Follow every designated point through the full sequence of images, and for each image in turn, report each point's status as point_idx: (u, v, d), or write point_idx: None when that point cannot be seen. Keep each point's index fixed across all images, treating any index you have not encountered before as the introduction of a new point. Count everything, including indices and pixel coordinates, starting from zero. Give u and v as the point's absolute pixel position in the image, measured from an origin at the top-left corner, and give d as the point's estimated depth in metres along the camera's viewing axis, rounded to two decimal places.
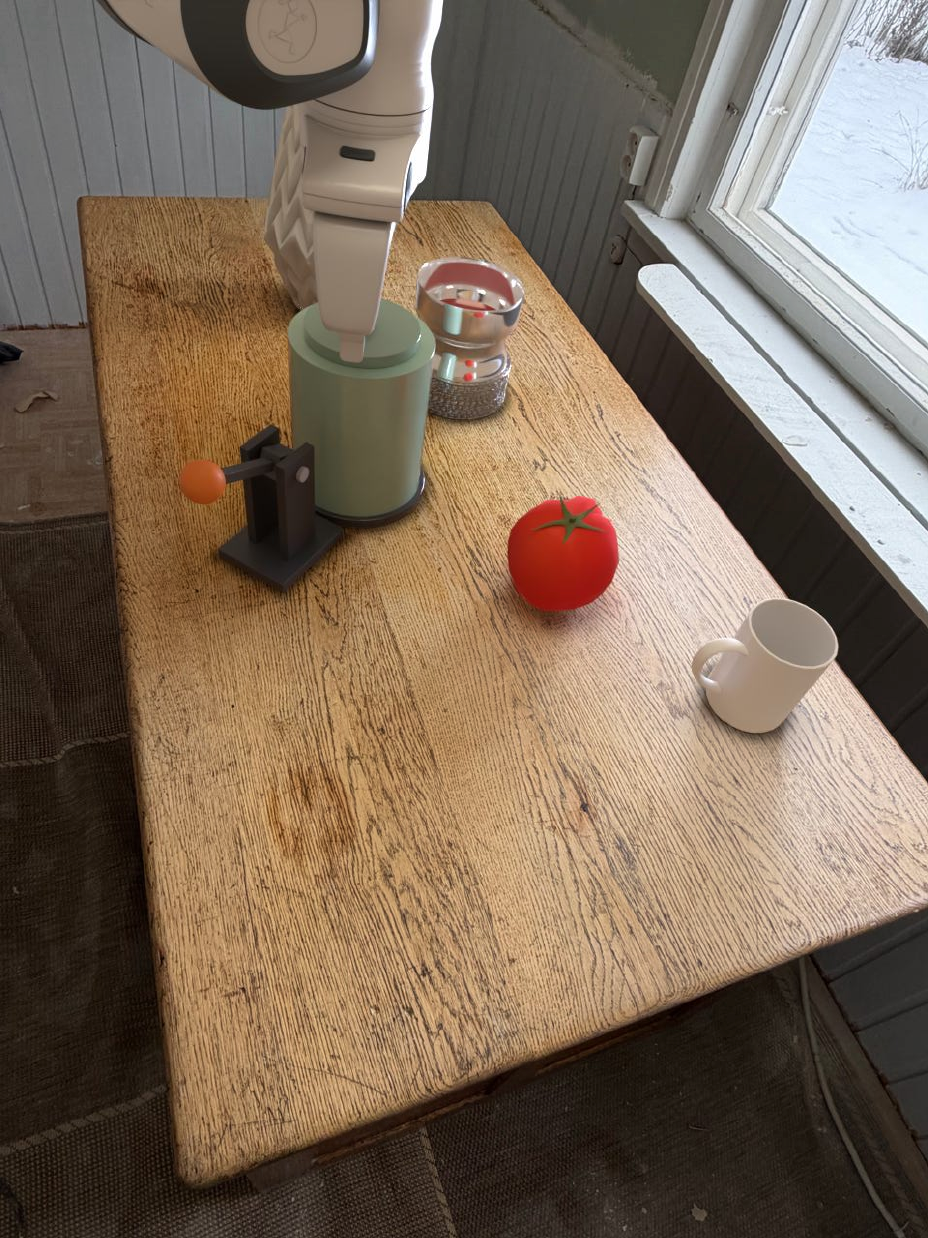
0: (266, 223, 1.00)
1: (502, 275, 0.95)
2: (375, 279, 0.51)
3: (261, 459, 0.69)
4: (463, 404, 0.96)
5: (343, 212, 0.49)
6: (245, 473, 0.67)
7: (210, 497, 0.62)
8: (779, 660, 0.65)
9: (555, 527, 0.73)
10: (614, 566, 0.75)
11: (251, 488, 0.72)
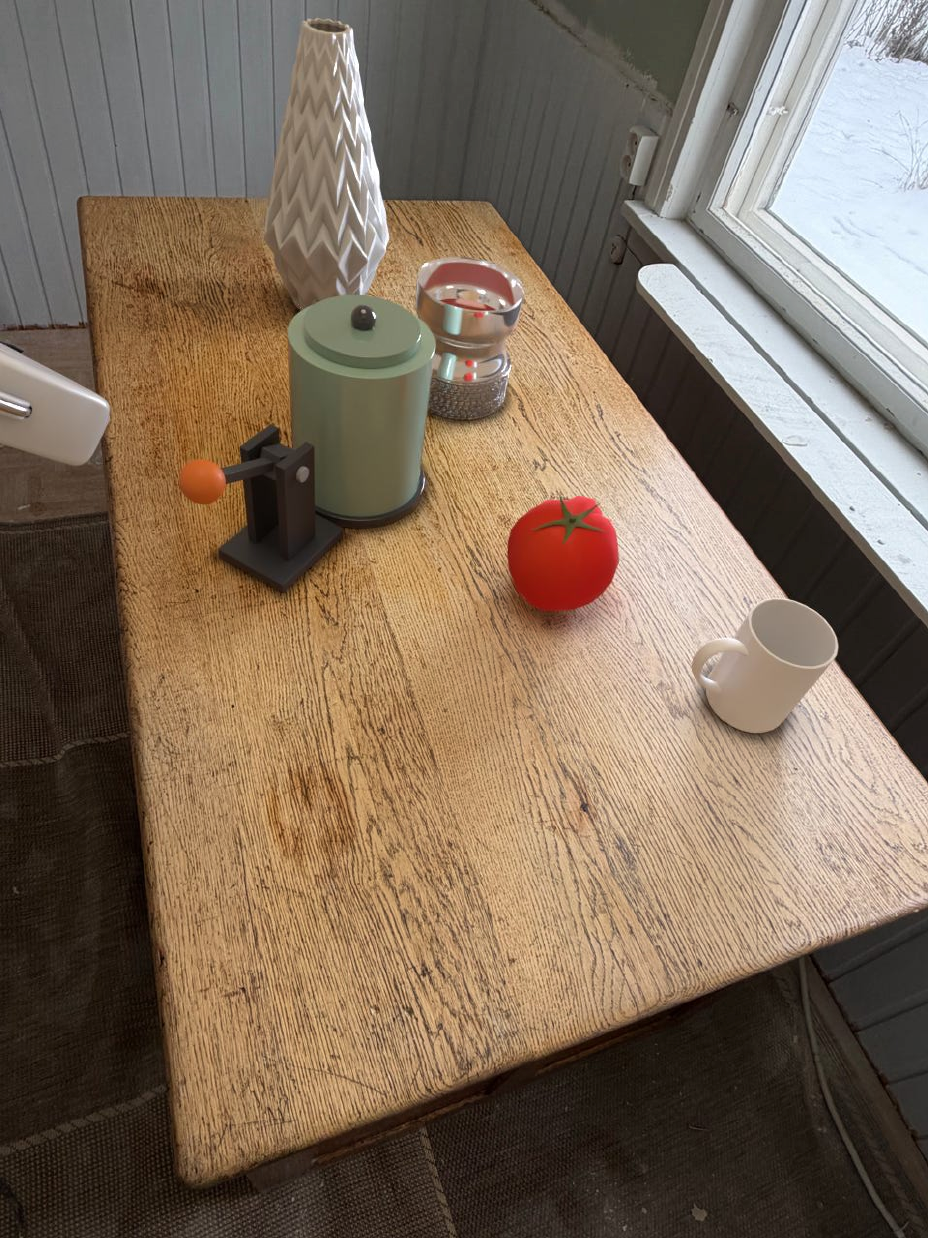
0: (266, 223, 1.00)
1: (502, 275, 0.95)
2: None
3: (261, 459, 0.69)
4: (463, 404, 0.96)
5: None
6: (245, 473, 0.67)
7: (210, 497, 0.62)
8: (779, 660, 0.65)
9: (555, 527, 0.73)
10: (614, 566, 0.75)
11: (251, 488, 0.72)
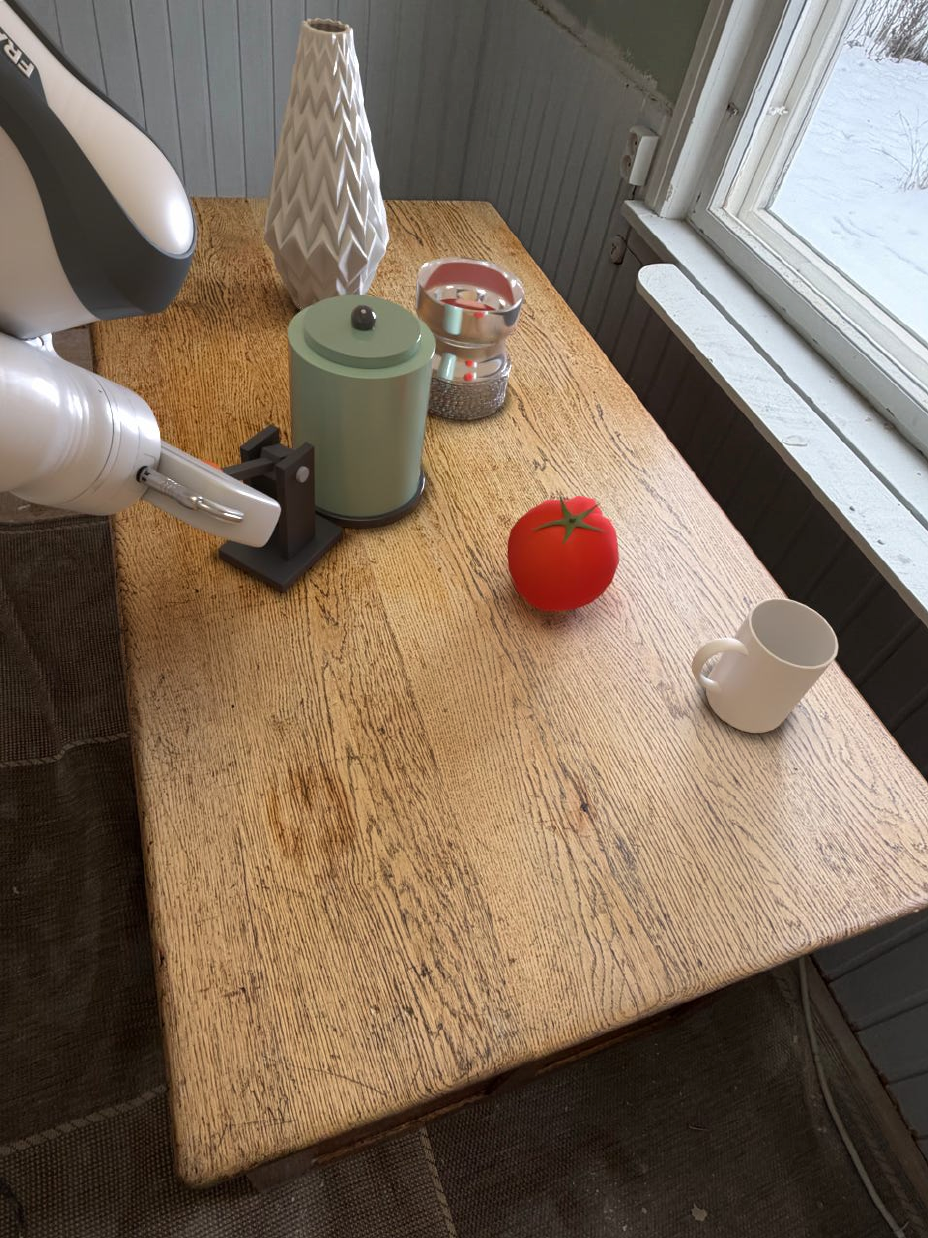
0: (266, 223, 1.00)
1: (502, 275, 0.95)
2: None
3: (261, 459, 0.69)
4: (463, 404, 0.96)
5: None
6: (245, 473, 0.67)
7: None
8: (779, 660, 0.65)
9: (555, 527, 0.73)
10: (614, 566, 0.75)
11: None
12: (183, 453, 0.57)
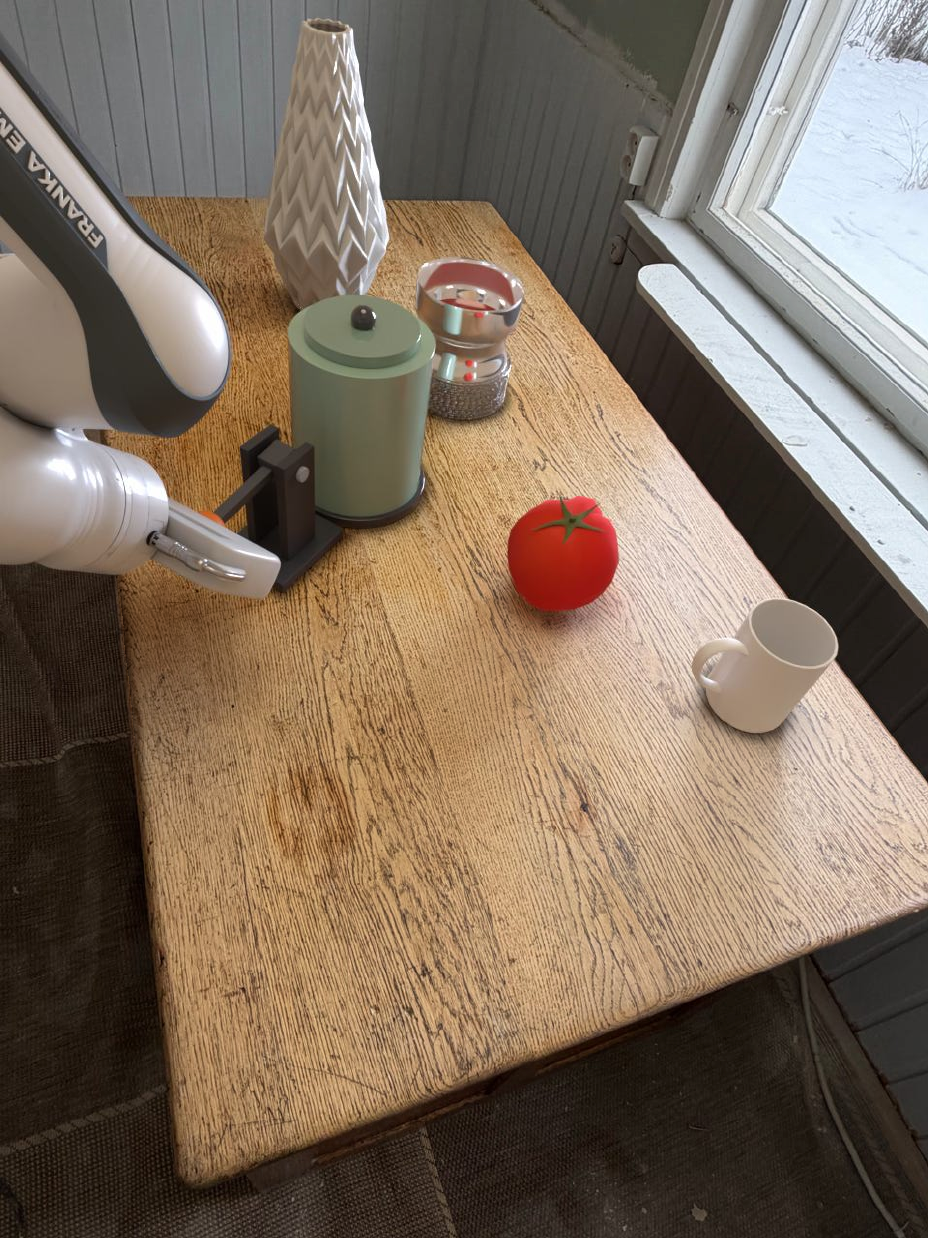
0: (266, 223, 1.00)
1: (502, 275, 0.95)
2: None
3: (259, 471, 0.70)
4: (463, 404, 0.96)
5: None
6: (244, 499, 0.68)
7: None
8: (779, 660, 0.65)
9: (555, 527, 0.73)
10: (614, 566, 0.75)
11: None
12: (189, 511, 0.61)
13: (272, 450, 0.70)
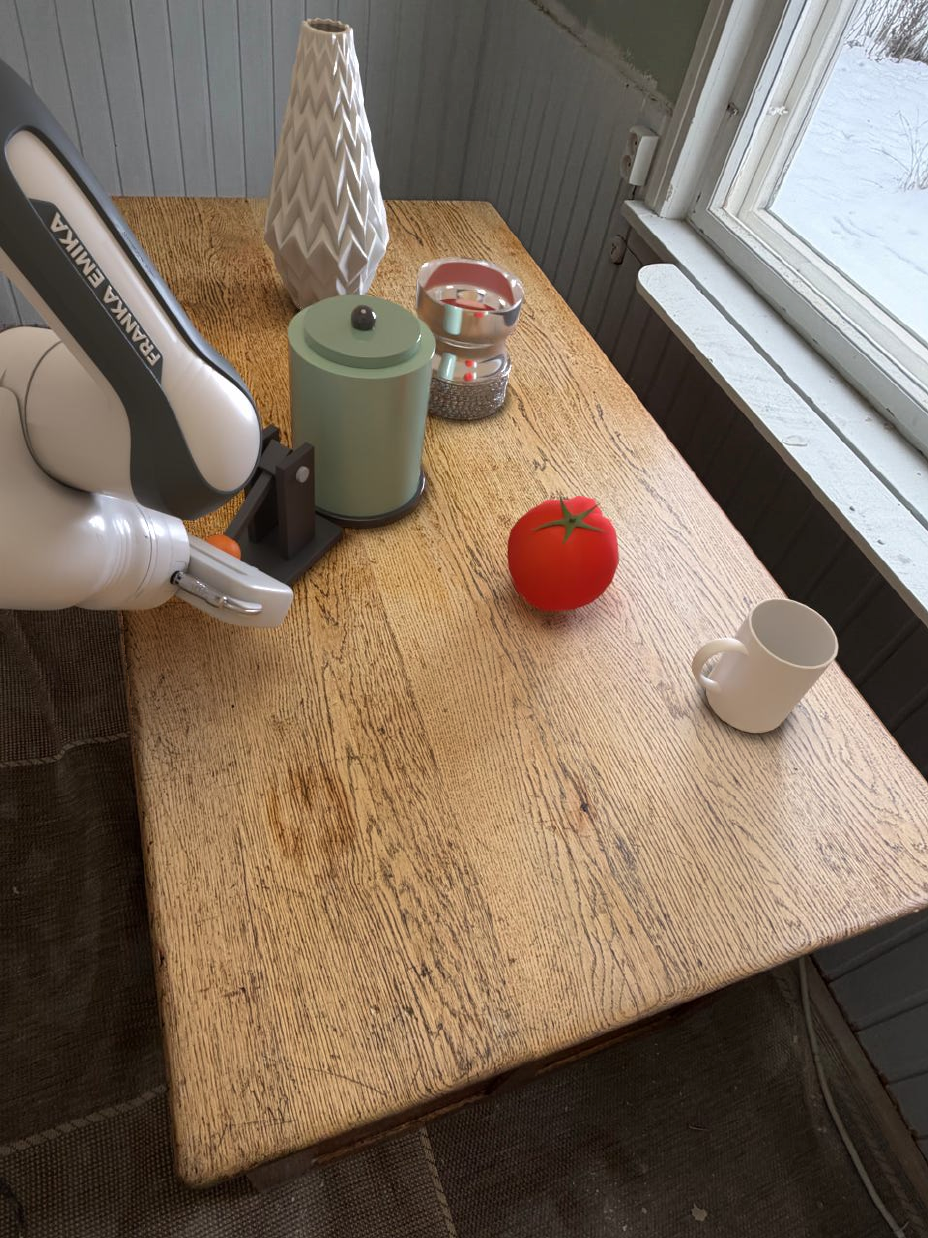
0: (266, 223, 1.00)
1: (502, 275, 0.95)
2: None
3: (260, 478, 0.71)
4: (463, 404, 0.96)
5: None
6: (251, 513, 0.70)
7: None
8: (779, 660, 0.65)
9: (555, 527, 0.73)
10: (614, 566, 0.75)
11: (251, 488, 0.72)
12: (207, 546, 0.65)
13: (269, 454, 0.70)
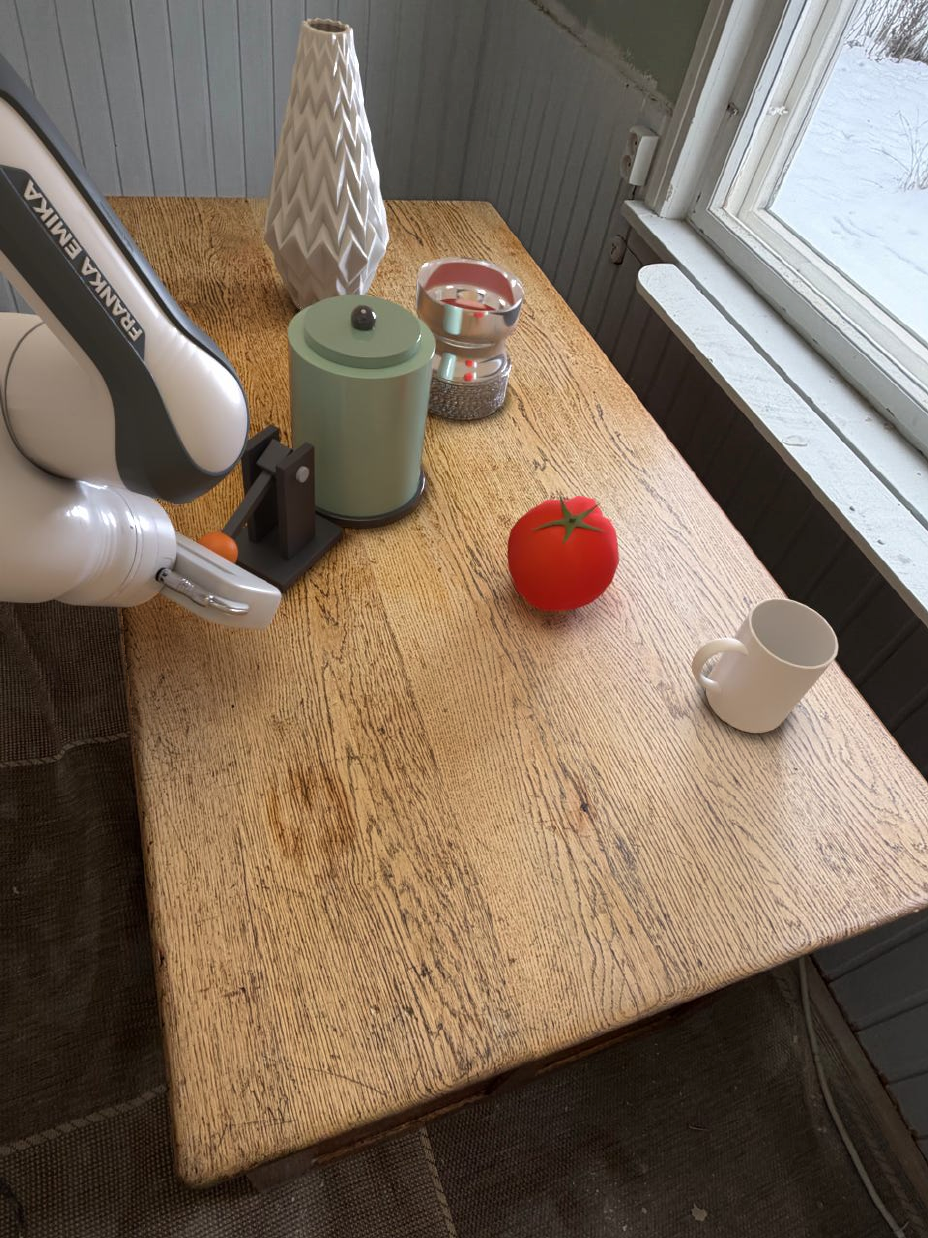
0: (266, 223, 1.00)
1: (502, 275, 0.95)
2: None
3: (260, 477, 0.70)
4: (463, 404, 0.96)
5: None
6: (249, 511, 0.70)
7: None
8: (779, 660, 0.65)
9: (555, 527, 0.73)
10: (614, 566, 0.75)
11: None
12: (194, 545, 0.64)
13: (269, 453, 0.70)
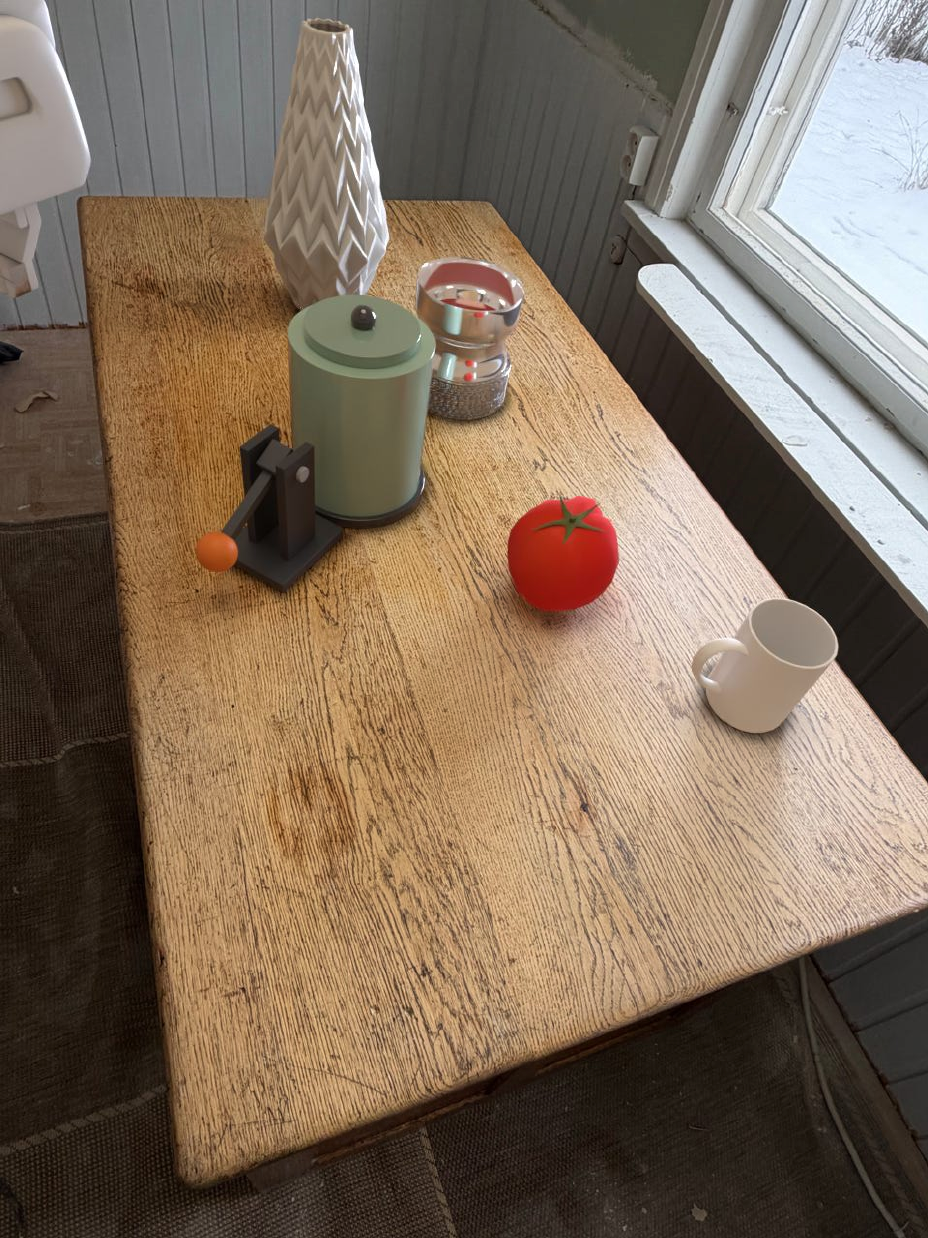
0: (266, 223, 1.00)
1: (502, 275, 0.95)
2: None
3: (260, 477, 0.70)
4: (463, 404, 0.96)
5: None
6: (249, 511, 0.70)
7: (227, 568, 0.69)
8: (779, 660, 0.65)
9: (555, 527, 0.73)
10: (614, 566, 0.75)
11: None
12: None
13: (269, 453, 0.70)
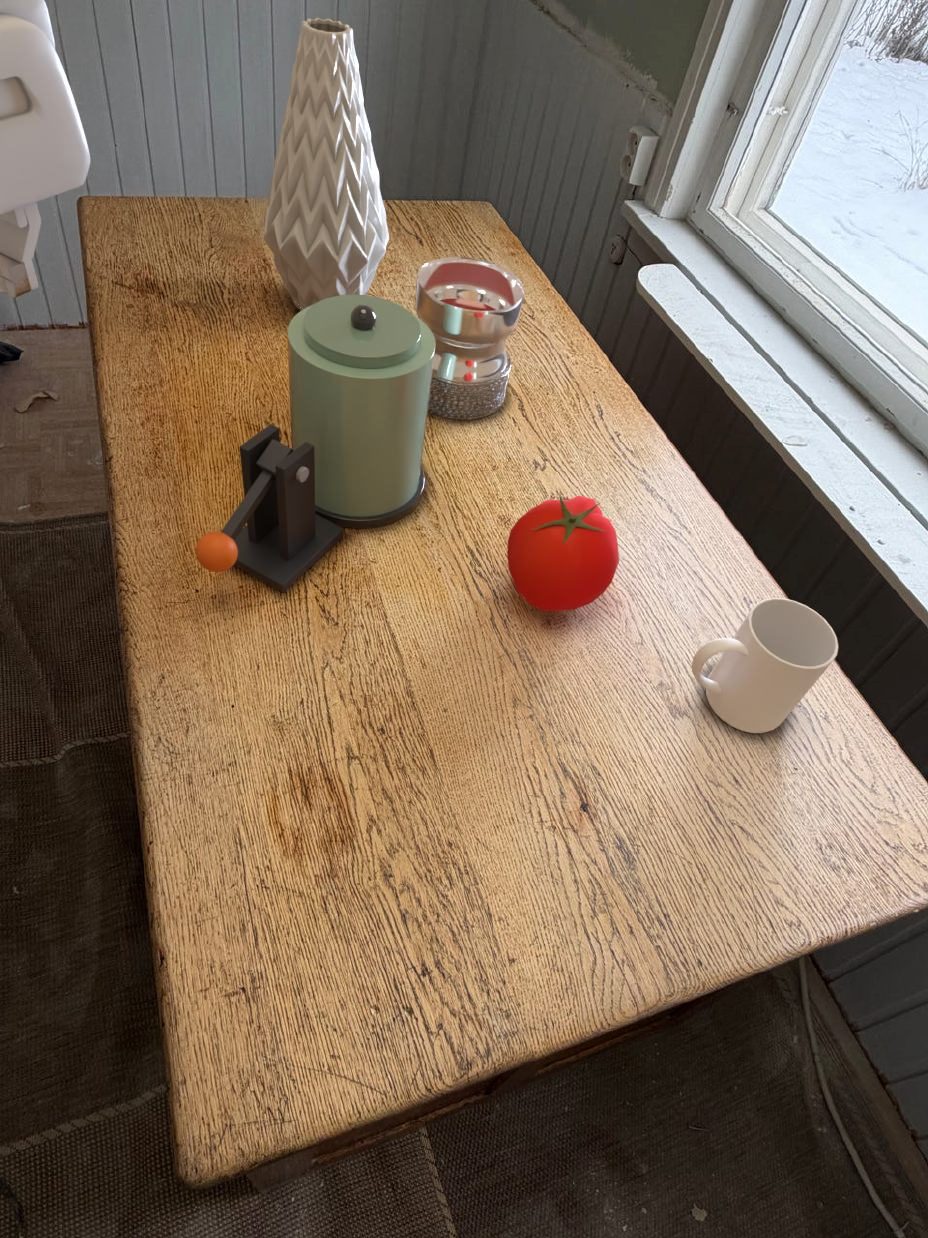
0: (266, 223, 1.00)
1: (502, 275, 0.95)
2: None
3: (260, 477, 0.70)
4: (463, 404, 0.96)
5: None
6: (249, 511, 0.70)
7: (227, 568, 0.69)
8: (779, 660, 0.65)
9: (555, 527, 0.73)
10: (614, 566, 0.75)
11: None
12: None
13: (269, 453, 0.70)
